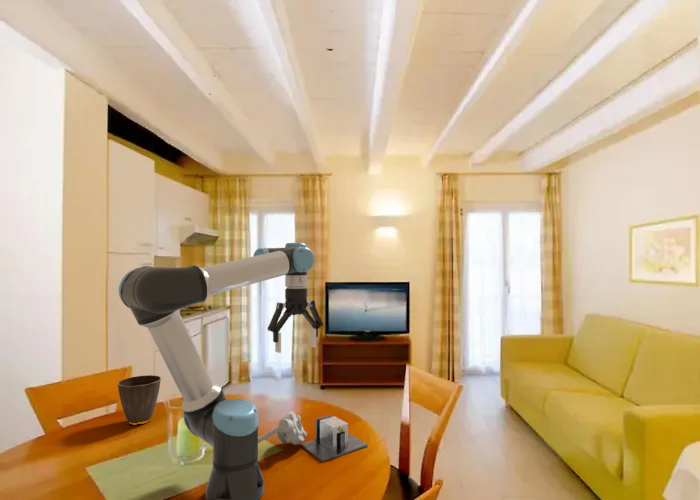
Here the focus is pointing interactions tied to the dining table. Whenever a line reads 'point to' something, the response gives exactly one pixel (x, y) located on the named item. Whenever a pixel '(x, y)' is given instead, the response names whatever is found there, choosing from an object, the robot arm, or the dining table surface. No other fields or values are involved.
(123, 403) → the plant pot
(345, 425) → the hollow grey box
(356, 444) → the dark grey angled piece
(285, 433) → the valve
